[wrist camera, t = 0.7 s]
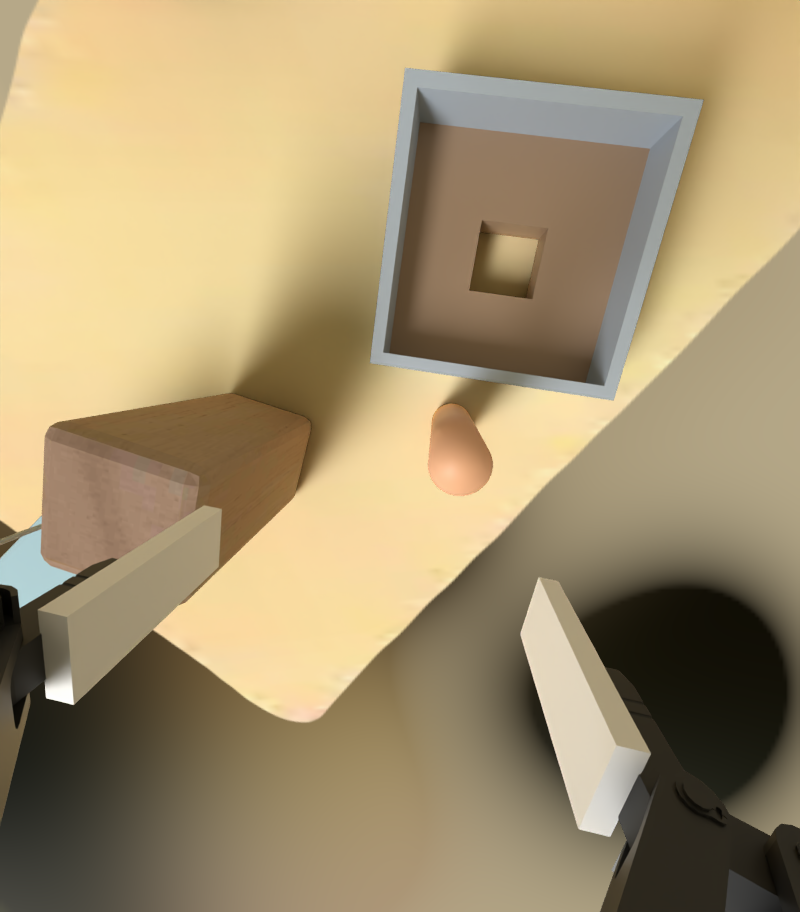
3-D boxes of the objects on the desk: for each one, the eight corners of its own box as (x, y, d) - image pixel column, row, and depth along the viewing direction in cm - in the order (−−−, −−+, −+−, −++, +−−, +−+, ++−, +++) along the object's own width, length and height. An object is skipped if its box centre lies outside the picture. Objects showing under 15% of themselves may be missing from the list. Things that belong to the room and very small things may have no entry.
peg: (435, 400, 38) (433, 429, 23) (474, 406, 38) (499, 440, 23) (429, 438, 39) (423, 490, 24) (466, 444, 39) (485, 500, 24)
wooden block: (214, 473, 43) (31, 567, 24) (228, 389, 40) (35, 418, 21) (295, 500, 43) (179, 617, 23) (316, 418, 40) (203, 474, 21)
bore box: (412, 128, 32) (405, 67, 26) (646, 155, 31) (703, 99, 24) (381, 362, 38) (369, 363, 31) (581, 392, 37) (613, 400, 30)
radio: (144, 576, 48) (-56, 724, 28) (91, 524, 46) (-154, 642, 27) (225, 506, 44) (58, 623, 25) (170, 448, 43) (-50, 522, 23)
